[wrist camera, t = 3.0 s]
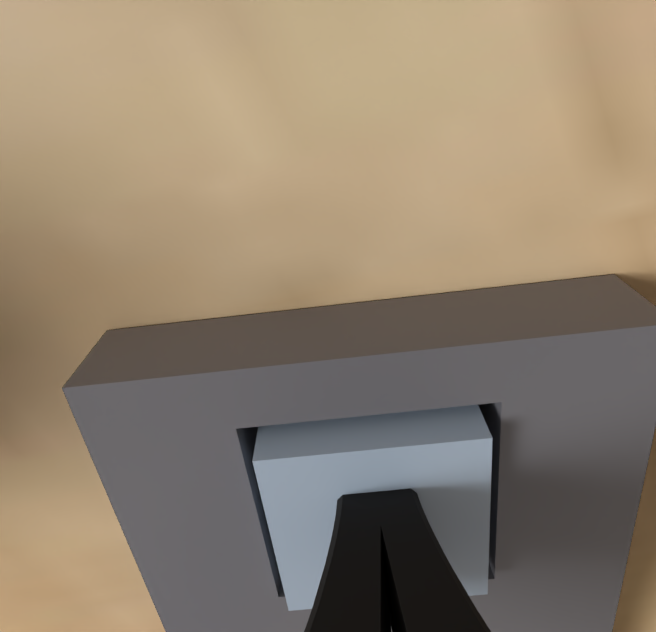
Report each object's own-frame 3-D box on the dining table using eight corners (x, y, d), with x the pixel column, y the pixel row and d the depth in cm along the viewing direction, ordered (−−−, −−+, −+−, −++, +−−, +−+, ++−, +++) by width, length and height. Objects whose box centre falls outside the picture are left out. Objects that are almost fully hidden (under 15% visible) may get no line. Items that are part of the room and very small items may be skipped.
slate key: (463, 514, 12) (487, 594, 10) (293, 529, 12) (288, 610, 11) (462, 371, 10) (492, 438, 9) (264, 391, 10) (252, 460, 9)
